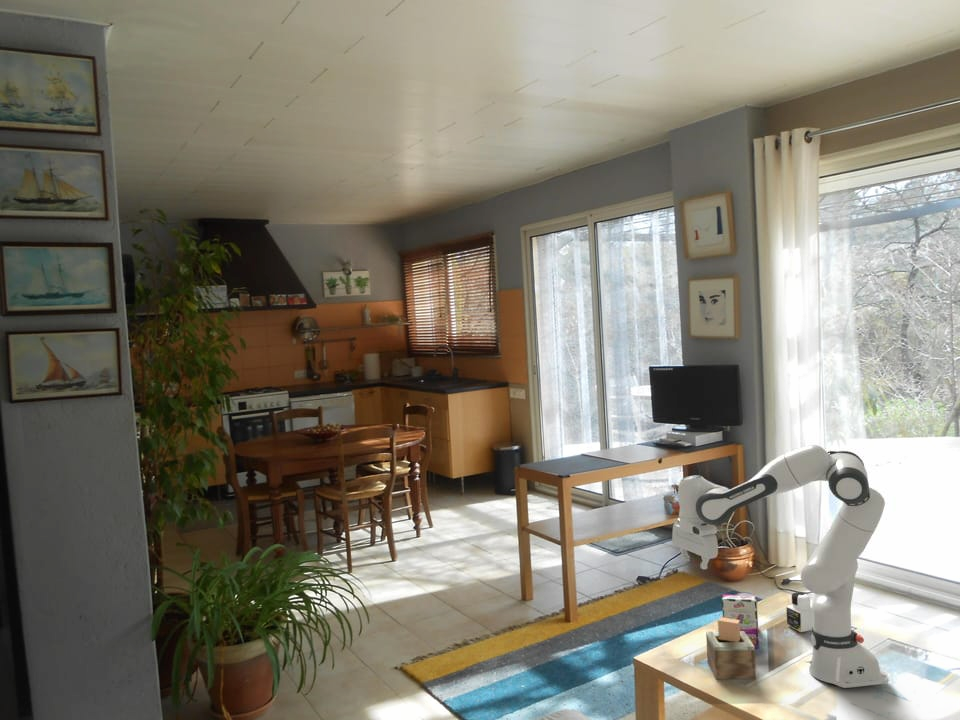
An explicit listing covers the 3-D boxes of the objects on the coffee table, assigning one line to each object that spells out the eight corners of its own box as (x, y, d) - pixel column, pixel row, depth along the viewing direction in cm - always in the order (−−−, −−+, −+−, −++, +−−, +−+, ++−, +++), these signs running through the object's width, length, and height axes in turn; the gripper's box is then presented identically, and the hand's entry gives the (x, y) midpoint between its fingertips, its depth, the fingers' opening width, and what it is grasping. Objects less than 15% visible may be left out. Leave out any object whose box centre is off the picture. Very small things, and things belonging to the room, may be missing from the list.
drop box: (745, 661, 240) (744, 631, 240) (755, 678, 228) (754, 646, 228) (707, 662, 241) (706, 631, 241) (715, 679, 229) (714, 647, 229)
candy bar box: (758, 642, 253) (756, 595, 253) (759, 649, 249) (757, 600, 248) (724, 640, 257) (722, 593, 257) (723, 646, 252) (721, 598, 252)
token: (740, 638, 234) (739, 620, 234) (738, 642, 232) (737, 623, 231) (721, 635, 237) (720, 617, 237) (718, 639, 235) (717, 620, 234)
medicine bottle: (786, 625, 267) (785, 592, 266) (803, 622, 269) (801, 589, 268) (800, 632, 260) (799, 598, 259) (817, 629, 262) (816, 595, 262)
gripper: (666, 518, 257) (668, 558, 258) (704, 532, 238) (706, 574, 239) (682, 516, 260) (683, 555, 260) (720, 529, 240) (722, 571, 241)
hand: (694, 564), depth 249 cm, fingers open, 8 cm apart
